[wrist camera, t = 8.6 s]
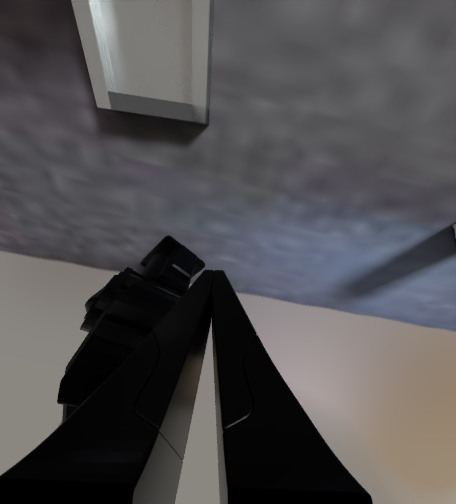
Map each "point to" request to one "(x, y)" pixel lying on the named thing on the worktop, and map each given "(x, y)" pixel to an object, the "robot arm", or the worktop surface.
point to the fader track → (149, 56)
